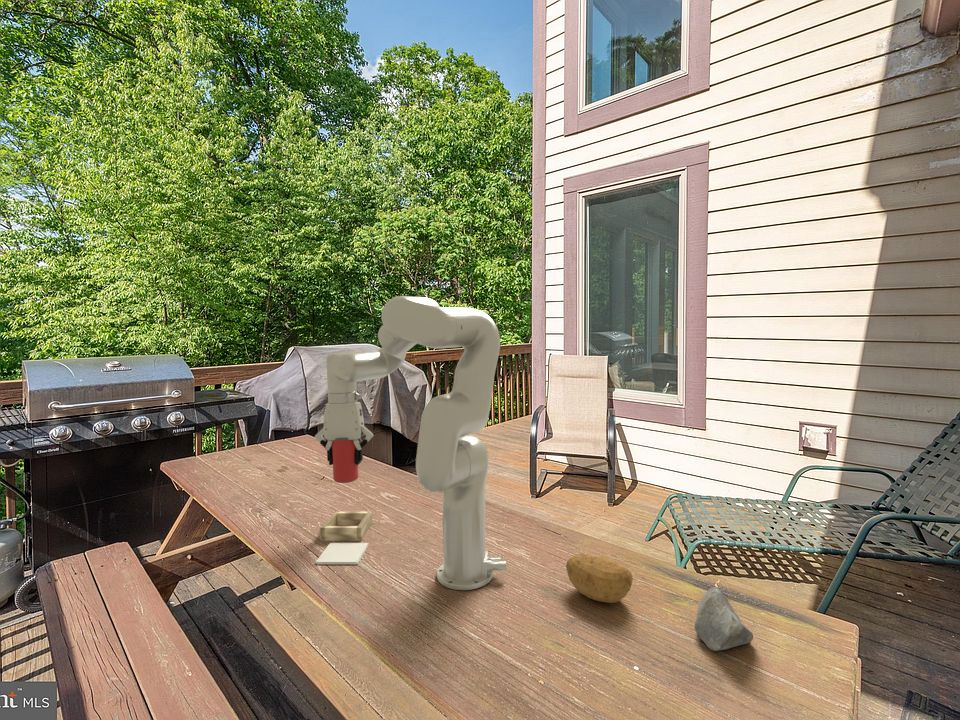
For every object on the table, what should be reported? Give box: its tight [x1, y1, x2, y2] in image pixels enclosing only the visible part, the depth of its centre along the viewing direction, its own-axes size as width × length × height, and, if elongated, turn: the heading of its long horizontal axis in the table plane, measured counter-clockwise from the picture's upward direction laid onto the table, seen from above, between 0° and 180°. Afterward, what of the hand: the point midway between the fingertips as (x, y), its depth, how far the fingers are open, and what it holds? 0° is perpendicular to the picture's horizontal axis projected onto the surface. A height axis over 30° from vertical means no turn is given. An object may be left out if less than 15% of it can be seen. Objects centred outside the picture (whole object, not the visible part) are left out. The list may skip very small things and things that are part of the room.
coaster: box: [315, 542, 369, 565], centre depth 120 cm, size 10×10×1 cm
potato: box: [565, 552, 634, 604], centre depth 99 cm, size 10×14×8 cm
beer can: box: [332, 438, 359, 484], centre depth 131 cm, size 7×7×12 cm
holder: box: [319, 511, 373, 542], centre depth 133 cm, size 11×11×4 cm
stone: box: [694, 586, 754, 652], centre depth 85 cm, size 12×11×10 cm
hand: (345, 463), depth 131 cm, fingers closed on beer can, 6 cm apart
